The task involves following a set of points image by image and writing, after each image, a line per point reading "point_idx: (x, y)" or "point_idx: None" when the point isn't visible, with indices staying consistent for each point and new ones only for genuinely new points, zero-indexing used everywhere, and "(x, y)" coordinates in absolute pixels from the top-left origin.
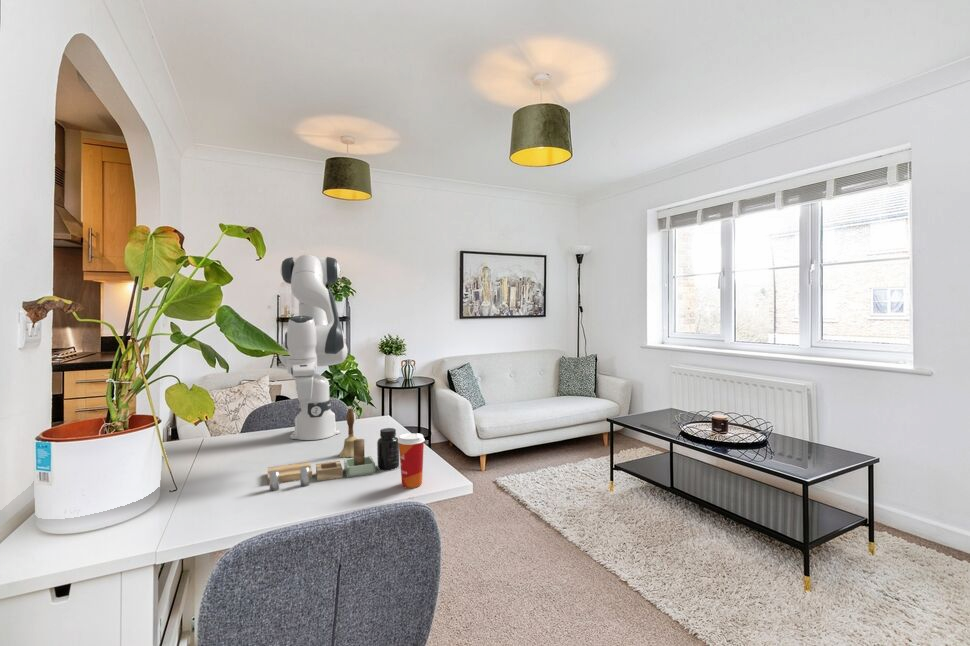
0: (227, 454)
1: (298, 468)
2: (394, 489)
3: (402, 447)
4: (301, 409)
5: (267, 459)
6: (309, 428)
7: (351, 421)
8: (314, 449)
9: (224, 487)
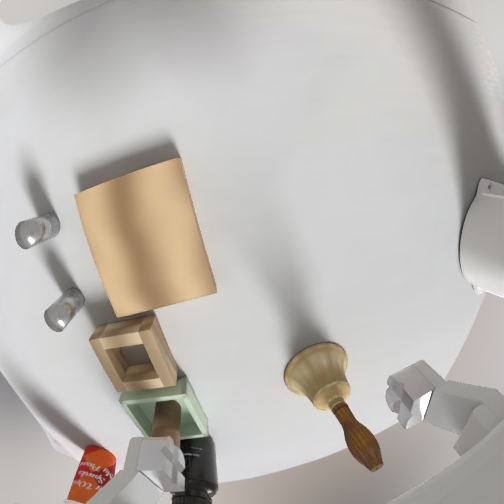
0: (397, 32)
1: (146, 272)
2: (78, 435)
3: (69, 495)
4: (126, 461)
5: (342, 127)
6: (487, 236)
7: (346, 443)
8: (397, 259)
9: (96, 77)
